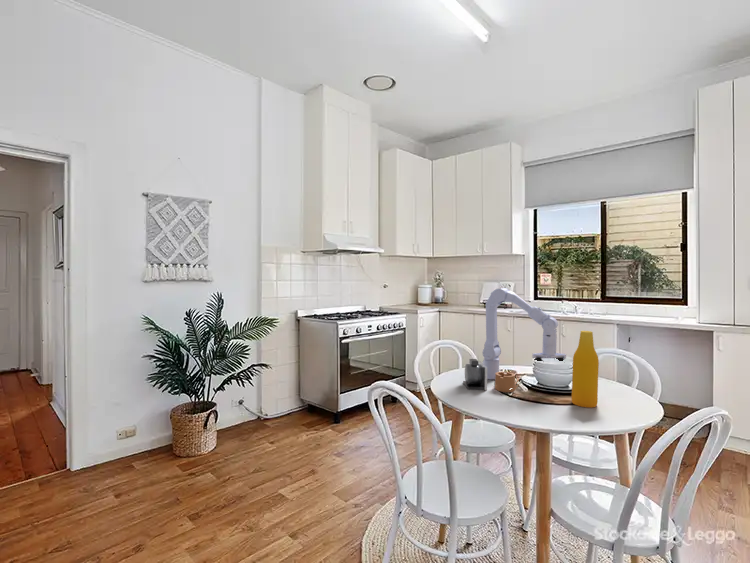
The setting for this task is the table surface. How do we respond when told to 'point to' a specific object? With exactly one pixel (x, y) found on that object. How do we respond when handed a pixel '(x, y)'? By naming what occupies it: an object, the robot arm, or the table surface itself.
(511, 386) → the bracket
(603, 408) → the table surface
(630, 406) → the table surface
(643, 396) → the table surface
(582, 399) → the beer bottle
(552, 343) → the robot arm
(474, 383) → the motor
